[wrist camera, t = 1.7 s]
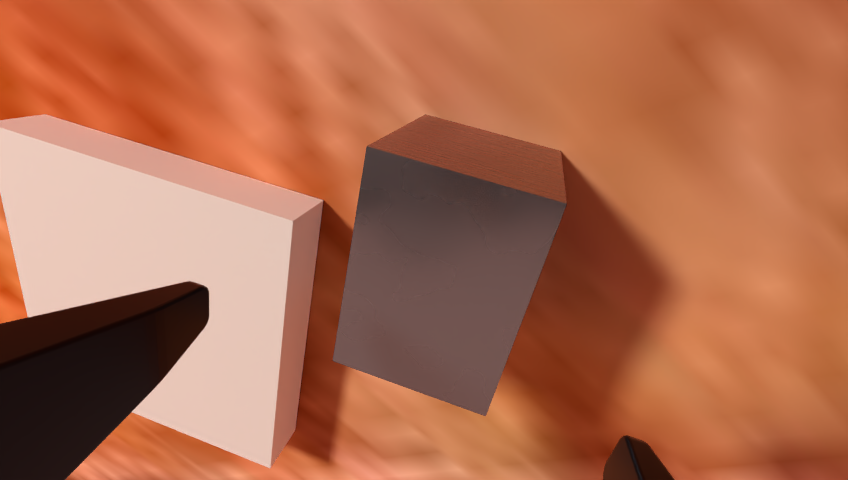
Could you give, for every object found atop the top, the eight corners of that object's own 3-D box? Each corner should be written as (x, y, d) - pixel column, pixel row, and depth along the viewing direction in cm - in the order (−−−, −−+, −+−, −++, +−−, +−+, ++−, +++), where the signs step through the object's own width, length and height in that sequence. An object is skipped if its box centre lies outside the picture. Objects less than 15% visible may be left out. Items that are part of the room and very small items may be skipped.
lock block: (560, 150, 16) (567, 203, 10) (503, 311, 19) (485, 416, 13) (426, 114, 16) (366, 146, 11) (392, 274, 19) (332, 360, 14)
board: (323, 200, 19) (293, 221, 16) (295, 430, 25) (270, 468, 23) (45, 114, 21) (-16, 122, 18) (82, 347, 27) (40, 375, 24)
